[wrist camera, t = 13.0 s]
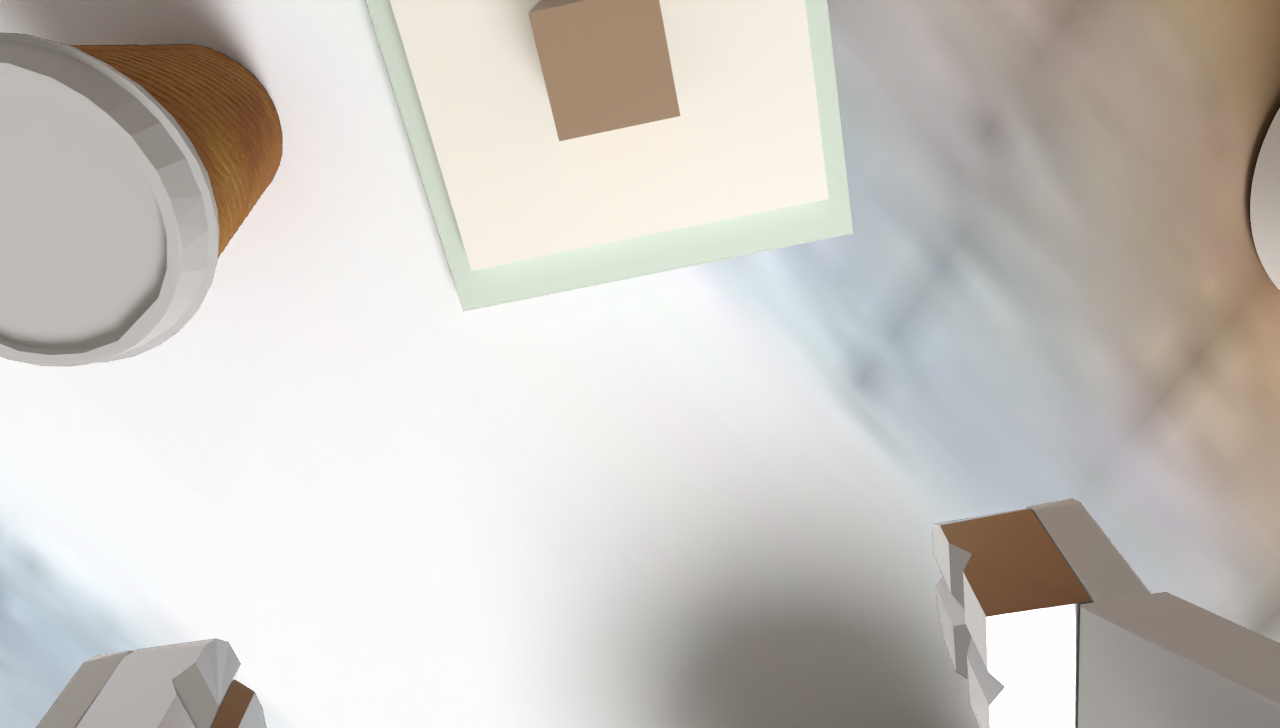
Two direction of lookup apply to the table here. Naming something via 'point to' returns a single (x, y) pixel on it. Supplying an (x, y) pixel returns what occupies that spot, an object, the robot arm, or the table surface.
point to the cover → (612, 116)
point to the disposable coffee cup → (120, 190)
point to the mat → (635, 252)
